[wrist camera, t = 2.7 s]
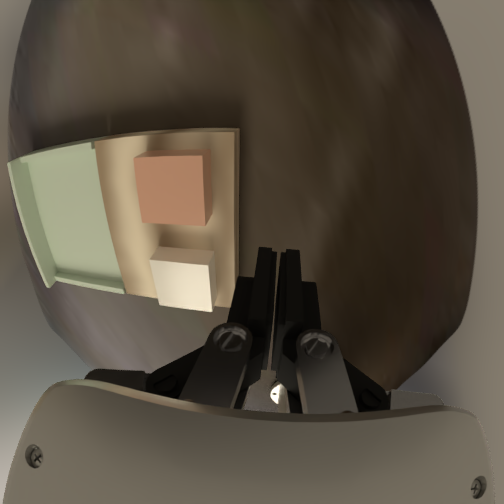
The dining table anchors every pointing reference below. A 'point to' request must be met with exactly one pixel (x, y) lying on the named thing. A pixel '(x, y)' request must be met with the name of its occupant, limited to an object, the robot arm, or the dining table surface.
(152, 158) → the terracotta tile
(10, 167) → the bin
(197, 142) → the birch plate
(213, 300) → the cream tile
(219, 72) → the dining table surface
